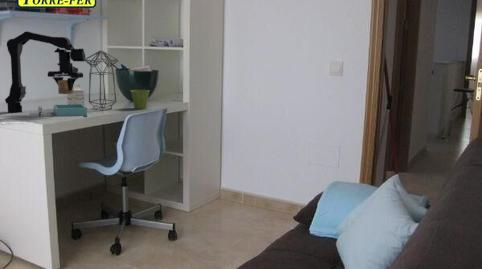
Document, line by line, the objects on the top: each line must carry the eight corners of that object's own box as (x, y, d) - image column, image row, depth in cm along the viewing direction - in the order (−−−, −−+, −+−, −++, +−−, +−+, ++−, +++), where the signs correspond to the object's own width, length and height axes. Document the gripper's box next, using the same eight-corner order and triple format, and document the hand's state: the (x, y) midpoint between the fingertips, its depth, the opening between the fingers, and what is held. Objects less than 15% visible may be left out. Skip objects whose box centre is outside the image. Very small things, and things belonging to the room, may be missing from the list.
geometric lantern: (121, 109, 291) (120, 51, 284) (103, 112, 278) (102, 51, 270) (101, 106, 298) (100, 49, 291) (82, 109, 284) (81, 50, 277)
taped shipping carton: (67, 94, 253) (66, 80, 252) (58, 93, 255) (57, 80, 254) (73, 93, 258) (73, 80, 257) (65, 92, 260) (64, 79, 259)
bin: (57, 118, 250) (56, 108, 249) (53, 113, 263) (53, 104, 262) (86, 117, 257) (86, 107, 256) (82, 113, 270) (82, 104, 269)
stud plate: (30, 118, 246) (30, 107, 246) (29, 115, 255) (29, 105, 254) (51, 117, 251) (51, 107, 250) (49, 114, 260) (49, 104, 259)
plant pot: (143, 106, 305) (143, 89, 303) (153, 109, 296) (153, 91, 294) (126, 108, 297) (126, 89, 295) (136, 110, 288) (136, 91, 286)
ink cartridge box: (72, 110, 280) (71, 84, 277) (67, 109, 283) (66, 84, 280) (85, 108, 287) (84, 84, 284) (80, 107, 290) (79, 83, 287)
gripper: (88, 61, 258) (90, 90, 261) (60, 60, 264) (61, 88, 267) (75, 62, 248) (77, 92, 251) (46, 60, 254) (47, 90, 256)
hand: (66, 90), depth 256 cm, fingers closed on taped shipping carton, 5 cm apart
